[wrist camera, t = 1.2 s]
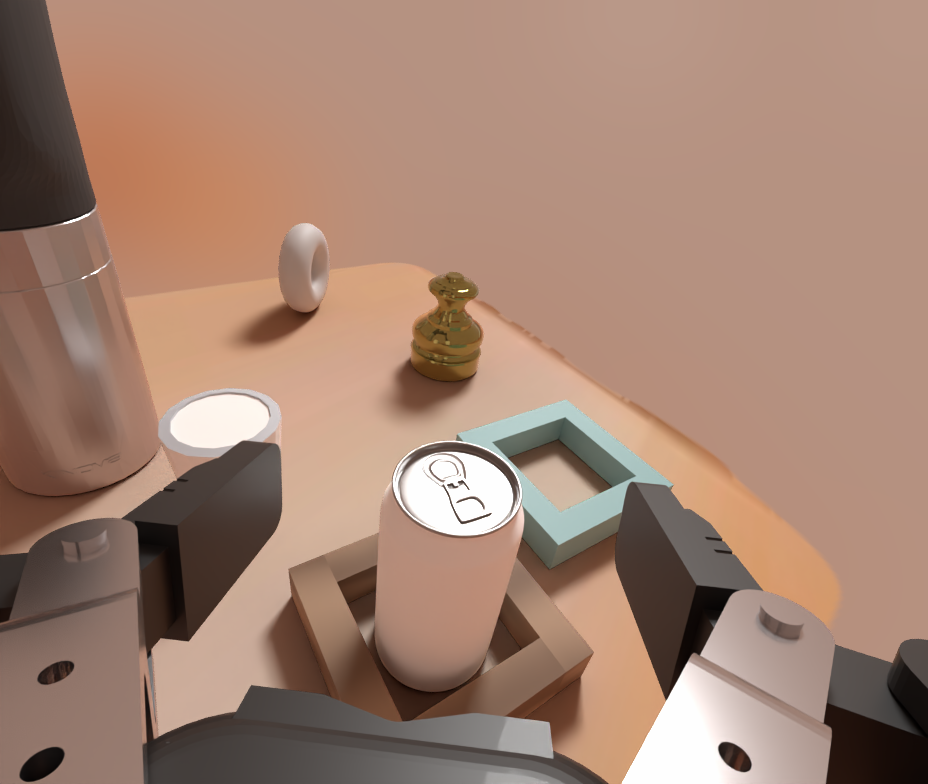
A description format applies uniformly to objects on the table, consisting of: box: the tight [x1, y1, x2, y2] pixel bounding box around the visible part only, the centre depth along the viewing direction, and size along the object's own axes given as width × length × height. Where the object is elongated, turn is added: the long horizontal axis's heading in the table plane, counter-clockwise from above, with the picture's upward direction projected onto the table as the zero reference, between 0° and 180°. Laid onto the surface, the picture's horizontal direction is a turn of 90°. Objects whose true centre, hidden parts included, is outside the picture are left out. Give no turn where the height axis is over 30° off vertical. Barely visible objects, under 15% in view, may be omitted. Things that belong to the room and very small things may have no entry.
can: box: [375, 441, 524, 692], centre depth 24 cm, size 6×6×12 cm
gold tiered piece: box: [410, 272, 484, 381], centre depth 49 cm, size 7×7×10 cm
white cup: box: [158, 388, 281, 479], centre depth 32 cm, size 7×7×7 cm
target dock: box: [456, 400, 673, 569], centre depth 38 cm, size 12×12×2 cm
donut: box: [278, 223, 329, 312], centre depth 56 cm, size 10×4×10 cm, turn 176°
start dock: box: [289, 533, 594, 722], centre depth 27 cm, size 12×12×2 cm
